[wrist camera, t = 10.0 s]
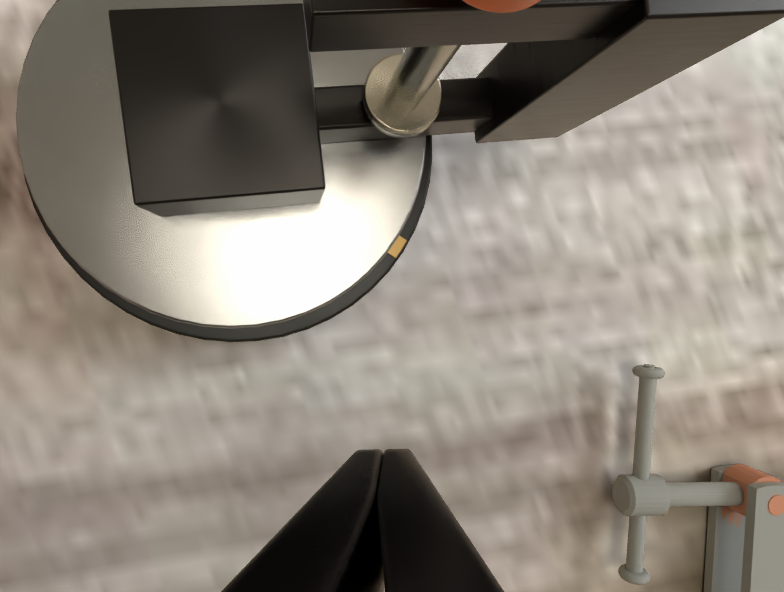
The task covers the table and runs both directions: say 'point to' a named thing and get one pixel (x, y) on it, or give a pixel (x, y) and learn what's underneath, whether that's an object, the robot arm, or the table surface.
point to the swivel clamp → (304, 127)
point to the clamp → (726, 511)
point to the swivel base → (276, 328)
